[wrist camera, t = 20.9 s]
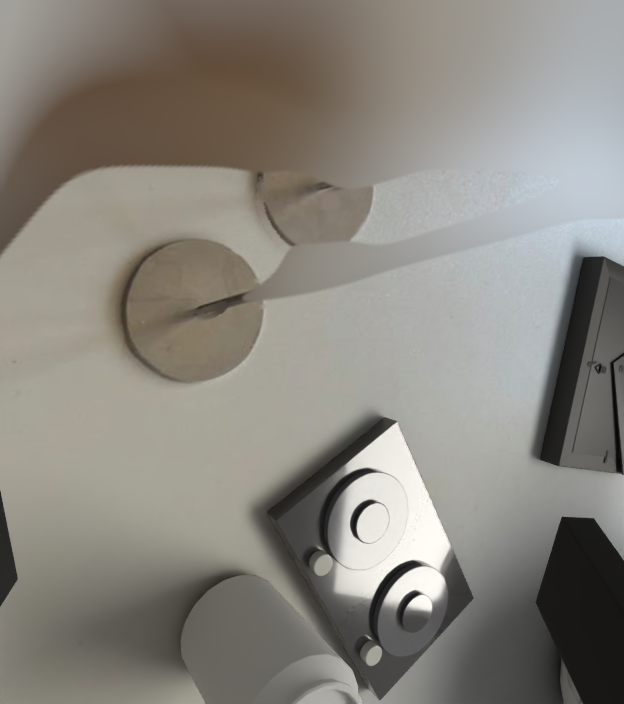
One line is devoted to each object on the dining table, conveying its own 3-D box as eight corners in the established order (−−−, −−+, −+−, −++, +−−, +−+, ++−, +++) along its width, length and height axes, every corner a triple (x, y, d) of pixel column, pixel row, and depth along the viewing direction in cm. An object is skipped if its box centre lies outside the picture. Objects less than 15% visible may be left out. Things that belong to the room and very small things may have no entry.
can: (165, 598, 35) (238, 727, 25) (267, 551, 39) (367, 647, 29) (188, 694, 37) (265, 851, 27) (284, 640, 41) (384, 761, 30)
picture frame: (623, 470, 62) (661, 294, 62) (648, 478, 60) (688, 295, 60) (539, 460, 54) (583, 257, 54) (565, 468, 52) (611, 256, 52)
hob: (385, 417, 43) (405, 423, 41) (461, 590, 50) (482, 604, 48) (266, 512, 39) (282, 526, 36) (368, 689, 46) (387, 709, 43)
